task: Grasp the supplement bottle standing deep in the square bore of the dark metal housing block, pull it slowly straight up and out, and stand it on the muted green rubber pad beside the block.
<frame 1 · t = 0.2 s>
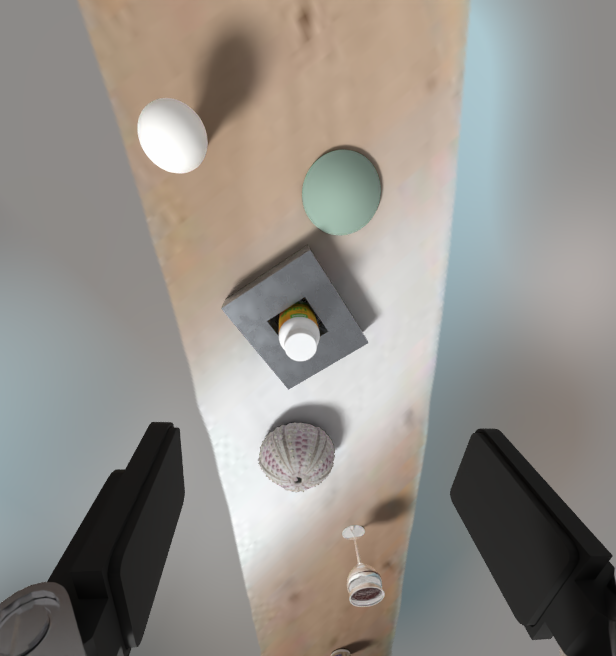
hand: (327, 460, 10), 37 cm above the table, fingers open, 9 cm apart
sea urchin shell: (295, 443, 59), on the table
pad: (341, 194, 41), on the table
supplement bottle: (296, 316, 48), resting in housing
wineglass: (353, 531, 71), on the table
lightbulb: (194, 145, 38), on the table
pill bottle: (340, 652, 94), on the table
housing: (296, 316, 48), on the table
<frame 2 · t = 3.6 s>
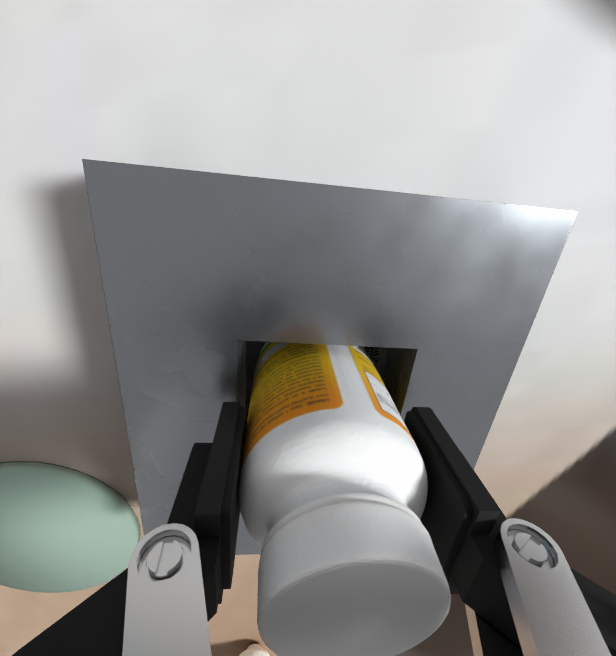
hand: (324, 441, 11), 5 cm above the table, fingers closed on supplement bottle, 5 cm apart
pad: (46, 528, 18), on the table
supplement bottle: (311, 367, 15), resting in housing, touching gripper
lightbulb: (254, 641, 25), on the table
housing: (311, 369, 15), on the table
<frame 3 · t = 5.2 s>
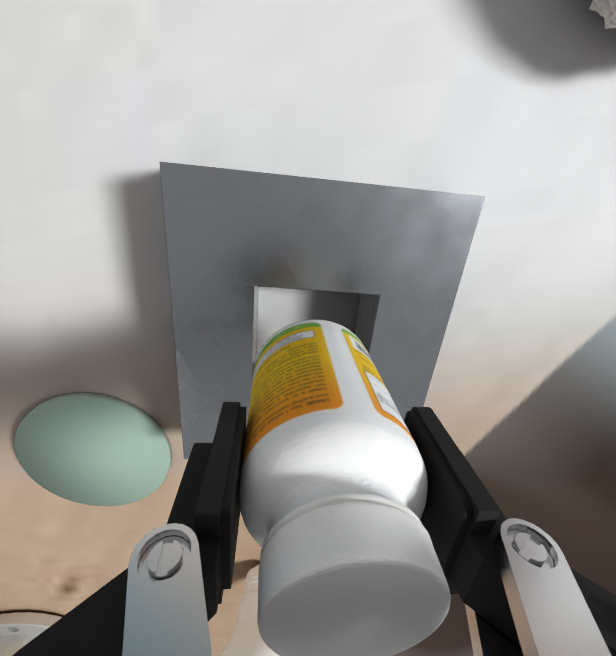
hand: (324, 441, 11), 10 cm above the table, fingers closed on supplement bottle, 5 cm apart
pad: (99, 450, 23), on the table
supplement bottle: (311, 366, 15), point 5 cm above the table, touching gripper
lightbulb: (261, 563, 30), on the table
housing: (307, 320, 20), on the table
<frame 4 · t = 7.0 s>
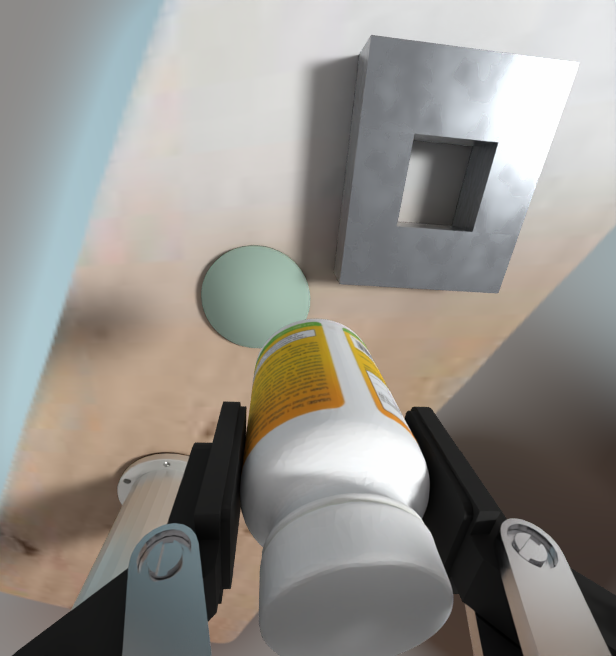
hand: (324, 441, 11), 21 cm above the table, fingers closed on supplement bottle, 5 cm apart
pad: (257, 298, 30), on the table
supplement bottle: (312, 365, 15), point 16 cm above the table, touching gripper
housing: (426, 184, 27), on the table
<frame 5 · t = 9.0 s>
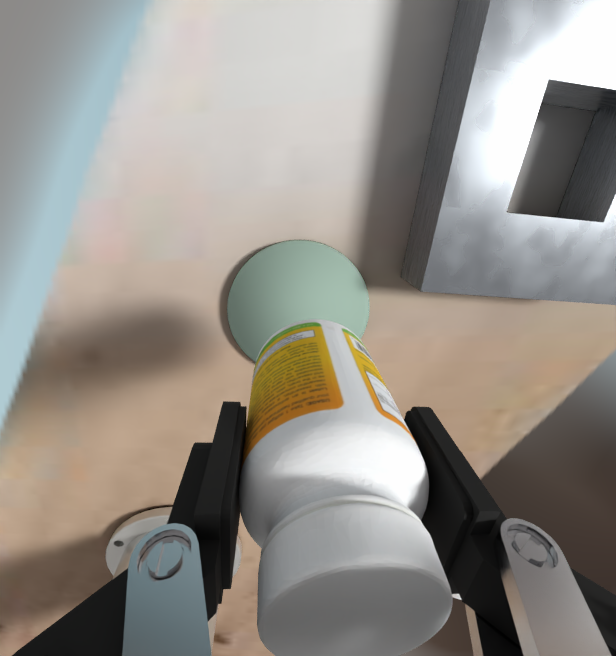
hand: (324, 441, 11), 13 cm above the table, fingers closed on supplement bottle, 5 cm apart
pad: (299, 310, 23), on the table
supplement bottle: (311, 366, 15), point 8 cm above the table, touching gripper
housing: (531, 162, 20), on the table
when the fingers open (7 cm above the table, at t = 10.6 s): supplement bottle drops 1 cm, resting on pad.
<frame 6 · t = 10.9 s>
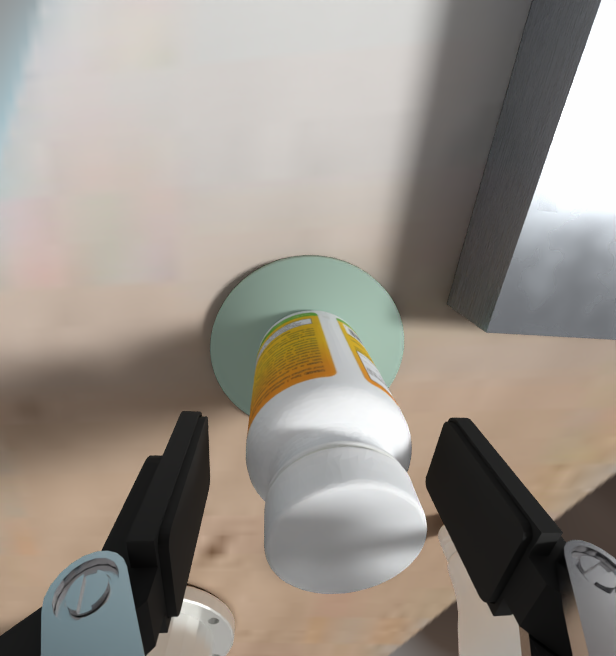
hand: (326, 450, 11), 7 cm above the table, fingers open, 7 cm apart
pad: (308, 349, 17), on the table
supplement bottle: (309, 355, 17), resting on pad
lightbulb: (448, 519, 24), on the table
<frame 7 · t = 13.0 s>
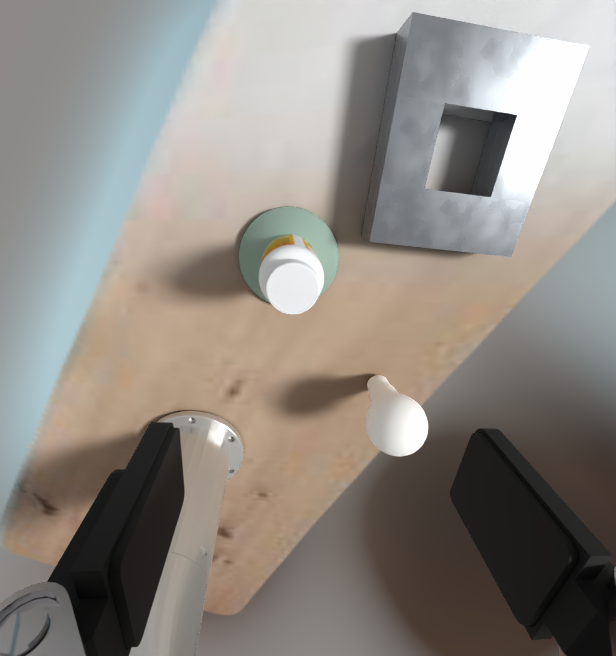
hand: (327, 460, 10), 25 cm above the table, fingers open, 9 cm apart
pad: (289, 258, 33), on the table
supplement bottle: (289, 260, 32), resting on pad
lightbulb: (374, 379, 40), on the table
housing: (449, 156, 30), on the table
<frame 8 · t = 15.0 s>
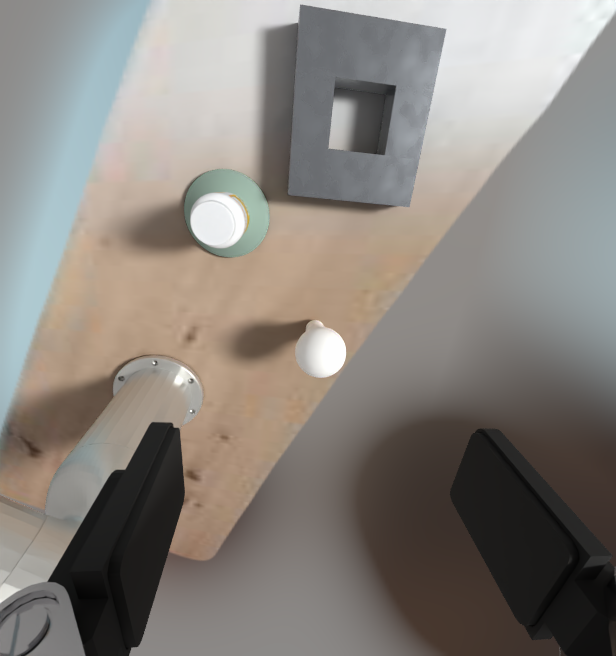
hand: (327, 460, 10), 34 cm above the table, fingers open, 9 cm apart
pad: (228, 215, 39), on the table
supplement bottle: (227, 216, 39), resting on pad
lightbulb: (313, 325, 46), on the table
housing: (354, 123, 36), on the table
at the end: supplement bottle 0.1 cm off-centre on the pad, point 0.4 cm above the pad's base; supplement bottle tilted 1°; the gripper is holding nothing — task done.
